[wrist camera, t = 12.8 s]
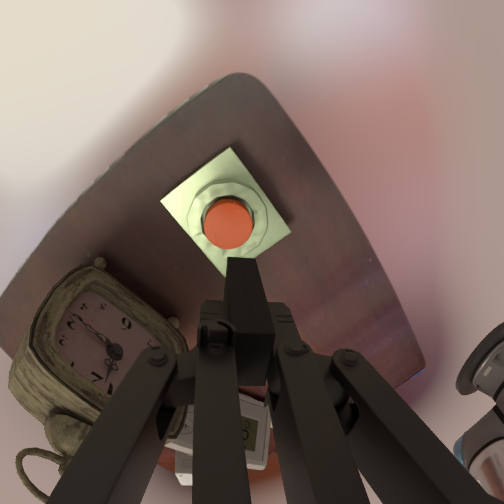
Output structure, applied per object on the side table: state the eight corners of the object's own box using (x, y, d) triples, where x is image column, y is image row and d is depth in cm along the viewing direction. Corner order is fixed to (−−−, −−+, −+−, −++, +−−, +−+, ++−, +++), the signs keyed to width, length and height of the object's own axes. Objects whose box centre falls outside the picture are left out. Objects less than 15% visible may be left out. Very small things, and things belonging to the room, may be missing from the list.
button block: (287, 225, 30) (296, 238, 27) (224, 269, 32) (225, 287, 28) (229, 145, 27) (230, 147, 23) (163, 195, 28) (155, 205, 24)
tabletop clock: (195, 319, 34) (188, 540, 11) (151, 358, 35) (123, 542, 12) (97, 238, 29) (-45, 429, 6) (62, 289, 30) (-41, 456, 7)
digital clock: (276, 404, 41) (289, 460, 32) (234, 427, 43) (240, 481, 33) (195, 353, 36) (192, 420, 26) (154, 384, 37) (145, 445, 28)
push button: (259, 224, 26) (262, 231, 25) (223, 250, 27) (223, 258, 25) (232, 189, 25) (233, 193, 23) (195, 216, 25) (193, 222, 24)
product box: (180, 454, 46) (180, 485, 39) (175, 439, 44) (174, 473, 37) (212, 454, 47) (213, 486, 40) (209, 440, 44) (211, 474, 38)
